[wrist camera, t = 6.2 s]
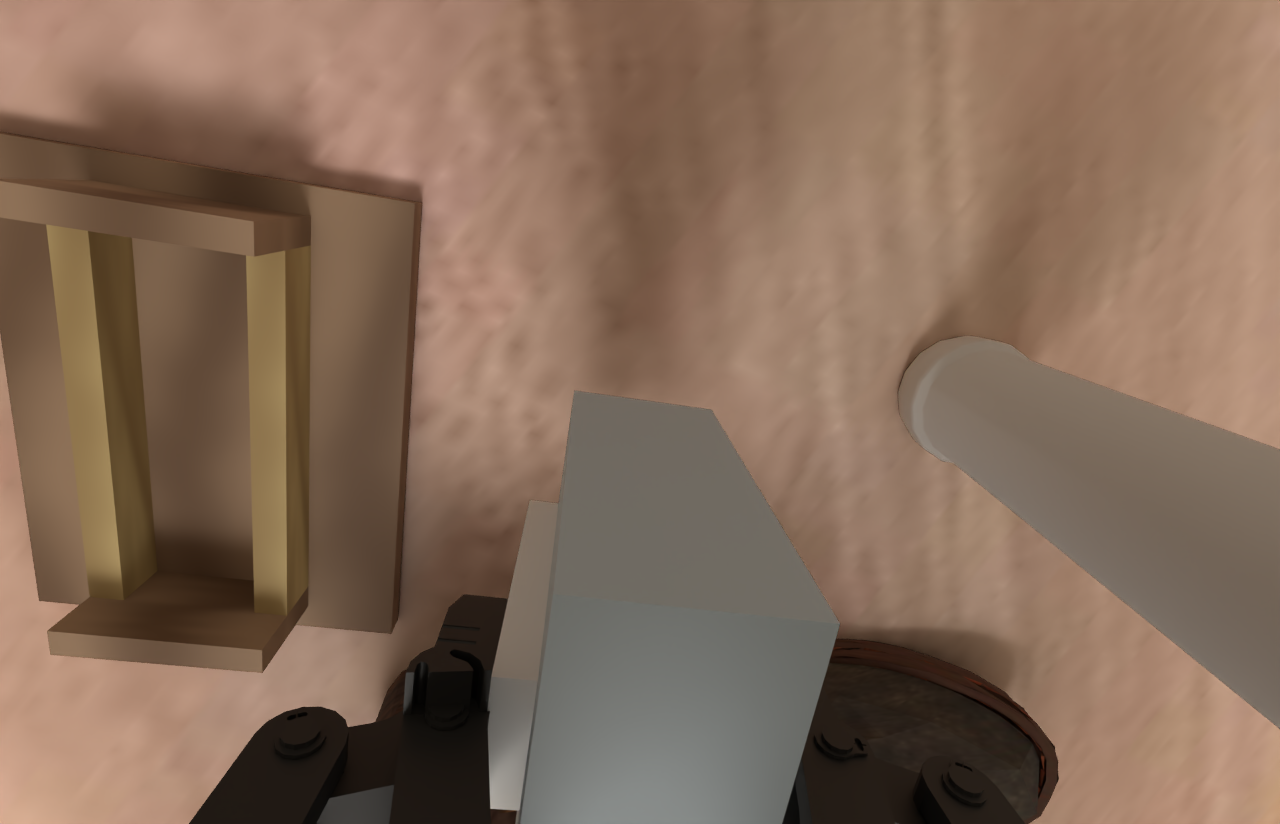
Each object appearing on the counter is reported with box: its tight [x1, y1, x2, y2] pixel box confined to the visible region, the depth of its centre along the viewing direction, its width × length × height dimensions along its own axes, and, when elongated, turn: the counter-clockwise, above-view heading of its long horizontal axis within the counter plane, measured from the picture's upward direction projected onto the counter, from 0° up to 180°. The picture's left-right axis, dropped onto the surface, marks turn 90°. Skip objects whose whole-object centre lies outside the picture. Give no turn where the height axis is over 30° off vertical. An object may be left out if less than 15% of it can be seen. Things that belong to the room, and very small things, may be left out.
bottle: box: [898, 336, 1280, 729], centre depth 15 cm, size 5×5×25 cm
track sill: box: [0, 132, 422, 673], centre depth 23 cm, size 14×18×5 cm
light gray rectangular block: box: [515, 391, 840, 824], centre depth 13 cm, size 4×9×9 cm, turn 171°
